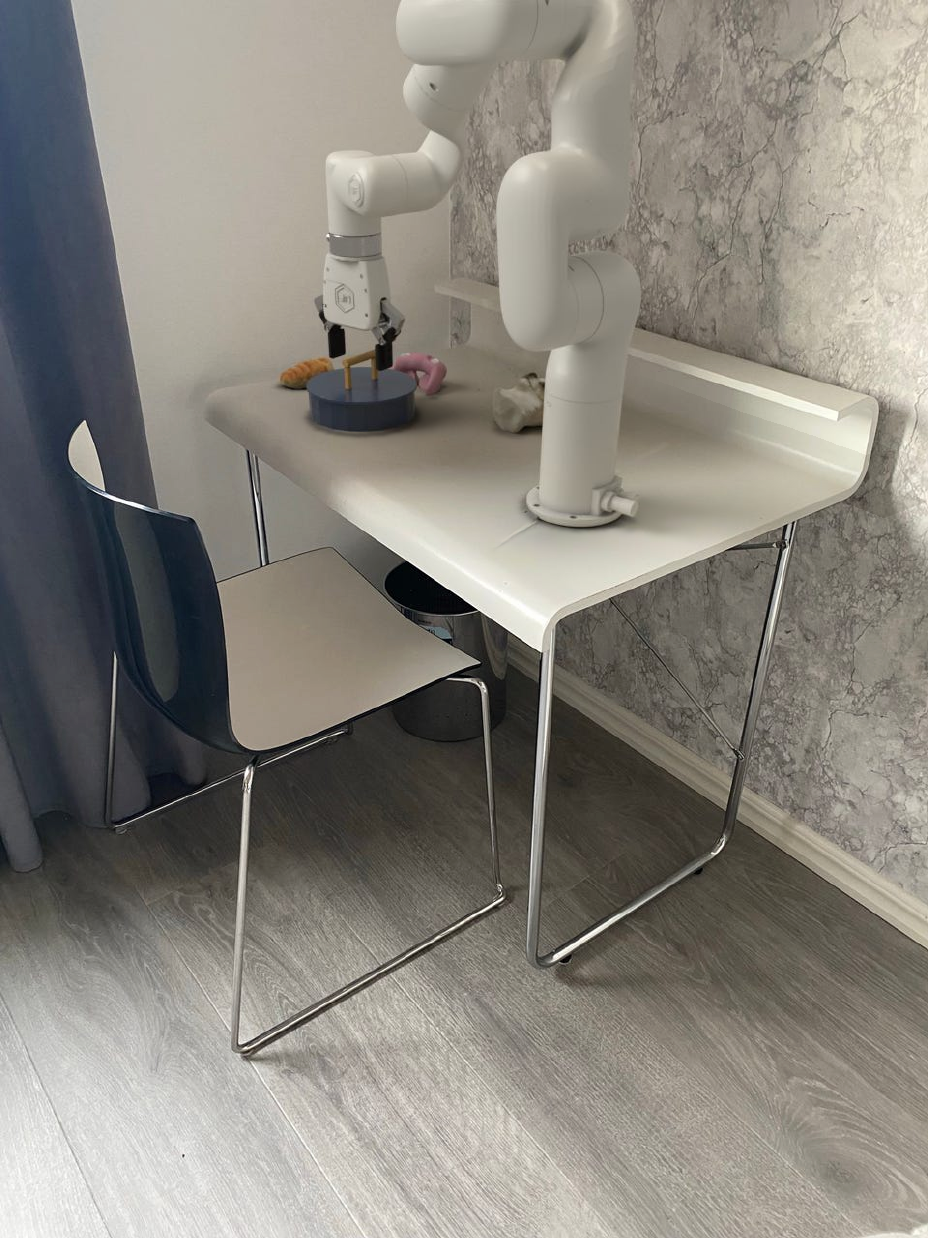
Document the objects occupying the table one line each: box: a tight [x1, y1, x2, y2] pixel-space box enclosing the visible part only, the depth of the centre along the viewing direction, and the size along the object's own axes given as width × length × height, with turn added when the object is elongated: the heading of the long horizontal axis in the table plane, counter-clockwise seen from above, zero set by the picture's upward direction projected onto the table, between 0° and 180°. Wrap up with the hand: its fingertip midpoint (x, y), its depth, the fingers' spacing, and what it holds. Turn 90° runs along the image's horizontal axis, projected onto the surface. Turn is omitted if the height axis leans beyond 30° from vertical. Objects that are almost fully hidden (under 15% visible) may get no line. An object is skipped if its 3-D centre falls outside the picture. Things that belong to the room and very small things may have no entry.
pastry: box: [279, 356, 336, 390], centre depth 170 cm, size 9×7×4 cm
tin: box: [308, 391, 416, 433], centre depth 156 cm, size 16×16×5 cm
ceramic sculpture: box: [492, 372, 545, 434], centre depth 152 cm, size 11×9×15 cm
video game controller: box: [390, 351, 448, 396], centre depth 168 cm, size 10×5×7 cm, turn 58°
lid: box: [306, 348, 418, 405], centre depth 154 cm, size 17×17×6 cm
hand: (360, 362), depth 153 cm, fingers open, 9 cm apart
